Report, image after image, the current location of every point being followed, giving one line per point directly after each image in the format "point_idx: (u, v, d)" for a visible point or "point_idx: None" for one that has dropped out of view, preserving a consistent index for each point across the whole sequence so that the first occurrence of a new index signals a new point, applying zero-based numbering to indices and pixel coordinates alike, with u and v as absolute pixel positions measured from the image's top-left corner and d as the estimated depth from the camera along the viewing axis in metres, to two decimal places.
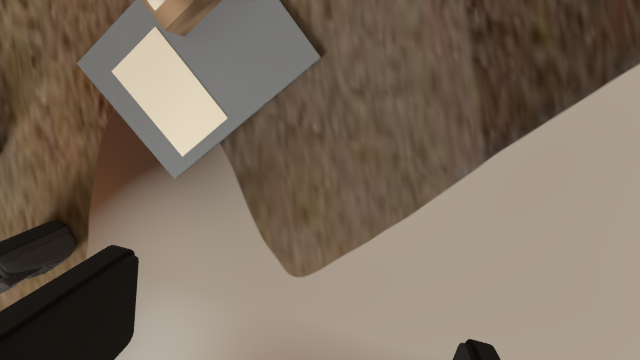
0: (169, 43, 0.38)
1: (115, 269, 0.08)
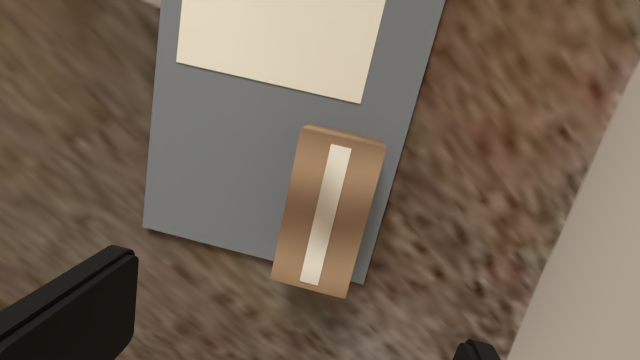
0: (325, 96, 0.22)
1: (115, 269, 0.08)
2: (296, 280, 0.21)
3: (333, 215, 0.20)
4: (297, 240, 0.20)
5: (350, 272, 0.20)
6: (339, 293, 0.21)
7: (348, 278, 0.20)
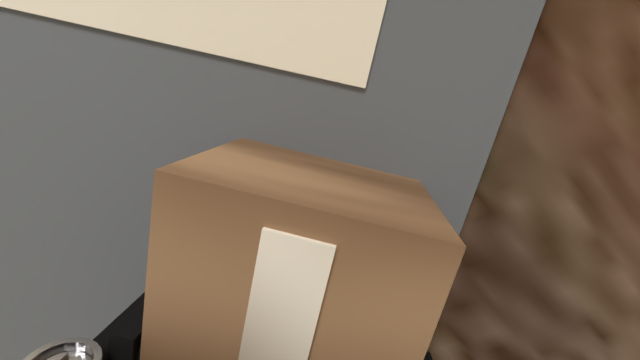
0: (275, 70, 0.08)
1: None
2: None
3: None
4: None
5: None
6: None
7: None
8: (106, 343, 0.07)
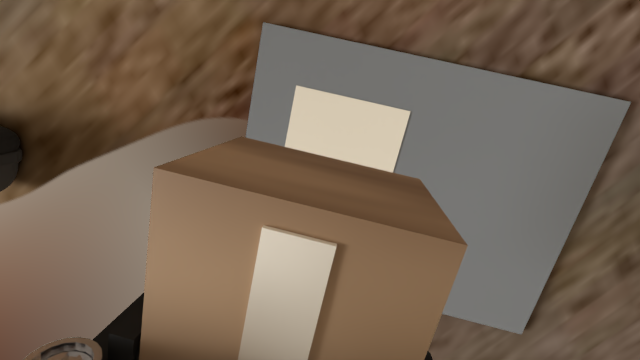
0: (401, 145, 0.23)
1: None
2: None
3: None
4: None
5: None
6: None
7: None
8: (106, 343, 0.07)
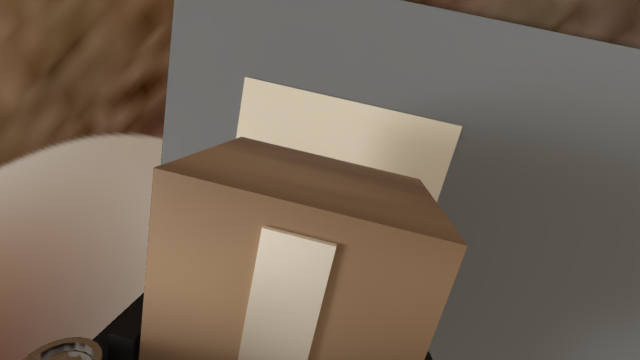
0: (442, 189, 0.12)
1: None
2: None
3: None
4: None
5: None
6: None
7: None
8: (106, 343, 0.07)
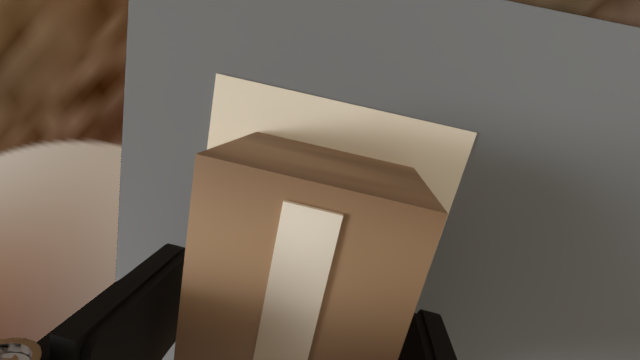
0: (452, 206, 0.10)
1: (175, 265, 0.09)
2: None
3: None
4: None
5: None
6: None
7: None
8: None
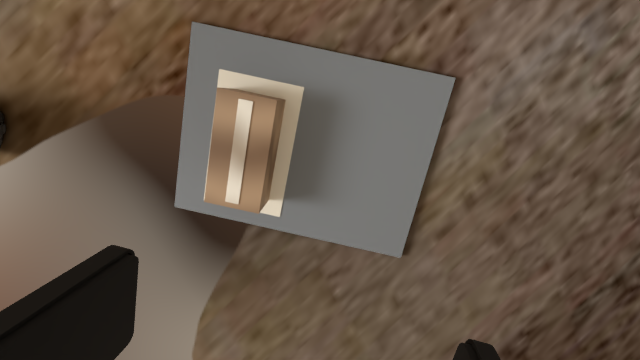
0: (299, 113, 0.30)
1: (115, 269, 0.08)
2: (223, 201, 0.29)
3: (244, 151, 0.27)
4: (221, 171, 0.28)
5: (260, 193, 0.28)
6: (254, 209, 0.29)
7: (259, 197, 0.28)
8: None
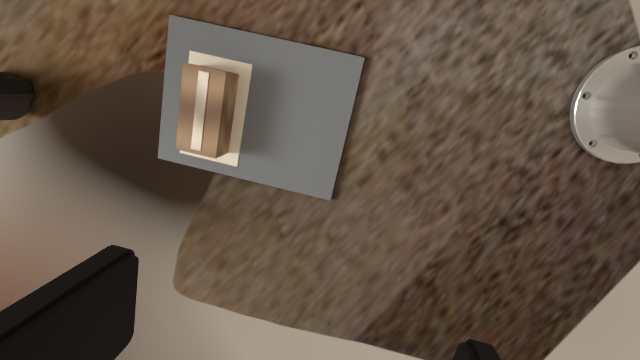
0: (249, 84, 0.40)
1: (115, 269, 0.08)
2: (189, 149, 0.39)
3: (204, 110, 0.37)
4: (187, 125, 0.38)
5: (216, 142, 0.38)
6: (212, 155, 0.38)
7: (215, 146, 0.38)
8: None
